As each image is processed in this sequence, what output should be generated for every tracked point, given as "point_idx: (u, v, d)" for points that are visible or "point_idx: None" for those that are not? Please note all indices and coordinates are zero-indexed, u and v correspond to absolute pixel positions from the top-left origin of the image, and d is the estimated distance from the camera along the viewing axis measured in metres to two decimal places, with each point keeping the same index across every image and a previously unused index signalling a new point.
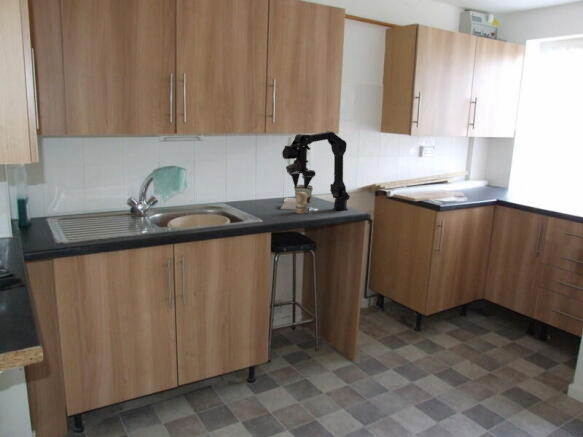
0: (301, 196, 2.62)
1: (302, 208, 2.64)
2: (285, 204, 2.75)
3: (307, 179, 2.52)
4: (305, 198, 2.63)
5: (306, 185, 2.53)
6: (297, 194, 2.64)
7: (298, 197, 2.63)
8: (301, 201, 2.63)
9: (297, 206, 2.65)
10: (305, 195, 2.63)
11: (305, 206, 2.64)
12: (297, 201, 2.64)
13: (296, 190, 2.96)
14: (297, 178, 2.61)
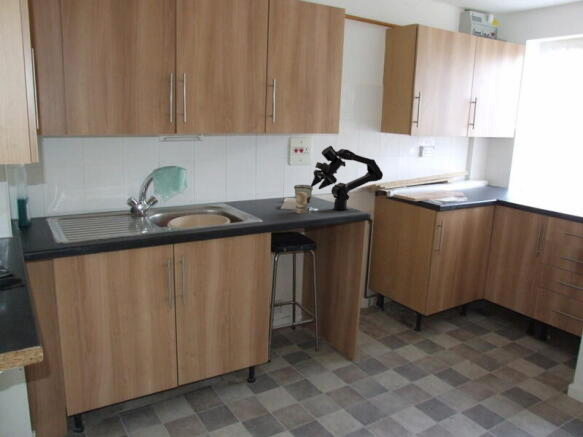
0: (301, 196, 2.62)
1: (302, 208, 2.64)
2: (285, 204, 2.75)
3: (326, 182, 2.62)
4: (305, 198, 2.63)
5: (321, 186, 2.62)
6: (297, 194, 2.64)
7: (298, 197, 2.63)
8: (301, 201, 2.63)
9: (297, 206, 2.65)
10: (305, 195, 2.63)
11: (305, 206, 2.64)
12: (297, 201, 2.64)
13: (296, 190, 2.96)
14: (317, 182, 2.72)
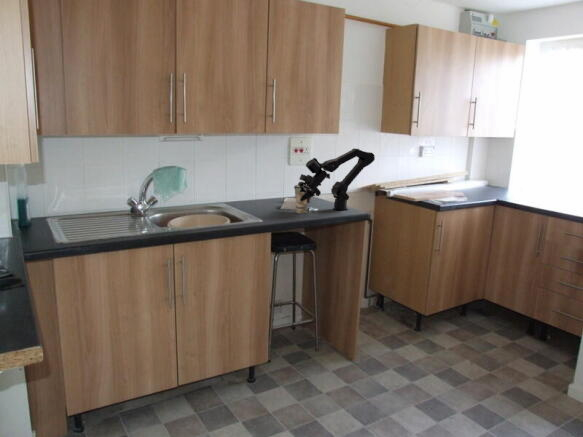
0: (300, 196, 2.62)
1: (302, 208, 2.64)
2: (285, 204, 2.75)
3: (308, 194, 2.62)
4: None
5: (303, 198, 2.62)
6: (297, 194, 2.64)
7: (298, 197, 2.63)
8: (301, 201, 2.63)
9: (297, 206, 2.65)
10: None
11: (305, 206, 2.64)
12: (297, 201, 2.64)
13: (296, 190, 2.96)
14: None
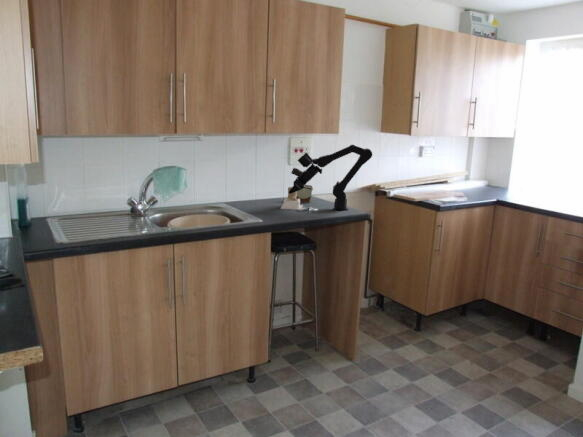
0: None
1: None
2: (285, 204, 2.75)
3: (295, 187, 2.71)
4: (294, 193, 2.75)
5: (291, 191, 2.72)
6: None
7: (288, 191, 2.77)
8: (290, 195, 2.76)
9: None
10: None
11: None
12: None
13: None
14: None
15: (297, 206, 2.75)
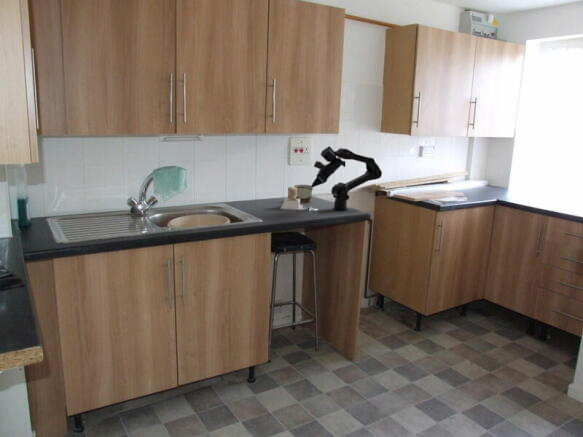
0: (289, 191, 2.75)
1: None
2: (285, 204, 2.75)
3: (318, 181, 2.66)
4: (294, 193, 2.75)
5: (314, 184, 2.67)
6: None
7: (288, 191, 2.77)
8: (290, 195, 2.76)
9: None
10: (294, 190, 2.75)
11: None
12: None
13: None
14: None
15: (297, 206, 2.75)
